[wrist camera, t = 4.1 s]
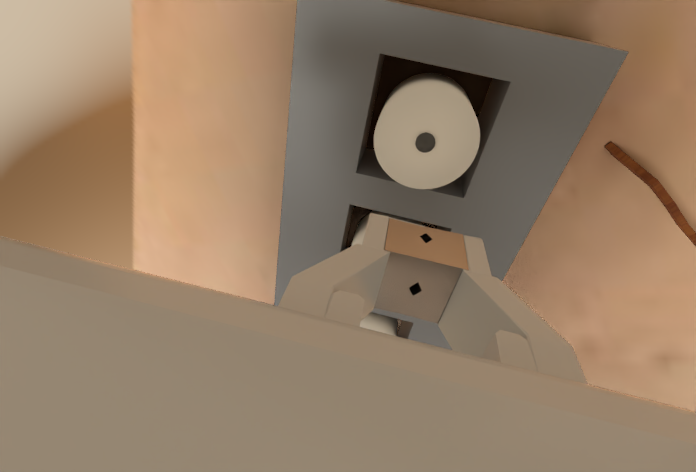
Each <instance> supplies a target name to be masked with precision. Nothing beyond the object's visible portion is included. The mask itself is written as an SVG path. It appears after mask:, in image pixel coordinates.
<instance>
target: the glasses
mask: <svg viewBox="0 0 696 472" xmlns="http://www.w3.org/2000/svg"><path fill="white" fill-rule="evenodd" d="M605 148H606V149H607V150H608V151H609V152H610V153H611V155H613V156H614V157H615V158H616V159H617V160H618V161H620V162H621V163H622V164H623V165H624V166H626V167H627V168H628V169H629V170H630V171H632V172H633V173H634V174H635V175H636V176H638V177H639V178H640V179H641V180H642V181H644V182H645V183H646V184H647V185H648V186H649V187H650V188H651V189H652V190H653V192H654V193H655V194H656V195H657V197H658V198H659V199H660V201H661V202H662V203H663V205H664V206H665V207H666V209H667V210H668V212H669V213H670V215H671V216H672V218H673V219H674V221H675V222H676V224H677V225H678V226H679V227H680V229H681V230H682V231H683V232H684V233H685V234H686V236H687V237H688V238H689V239H690V240H691V241H692V242H693V244H694V245H695V246H696V232H695V231H694V230H693V229H692V228H691V227H690V226H689V224H688V223H687V221H686V220H685V218H684V216H683V215H682V213H681V212H680V210H679V208H678V207H677V205H676V204H675V202H674V201H673V200H672V198H671V197H670V196H669V194H668V193H667V192H666V190H665V189H664V188H663V186H662V185H661V184H660V182H659V181H658V180H657V179H656V178H654V177H653V176H652V175H651V174H650V173H648V172H647V171H646V170H645V169H644V168H642V167H641V166H640V165H639V164H637V163H636V162H635V161H634V160H633V159H631V158H630V157H629V156H628V155H627V154H625V153H624V152H623V151H622V150H620V149H619V148H618V147H617V146H616V145H614V144H613V143H612V142H610V143H609V144H608V145H606V146H605Z"/></svg>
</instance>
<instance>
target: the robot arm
mask: <svg viewBox="0 0 696 472" xmlns="http://www.w3.org/2000/svg"><path fill="white" fill-rule="evenodd" d="M374 308H377V309H381V310H386V311H390V312H395V313H399V314H404V315H408V316H411V317H415V318H419V319H422V320H426V321H429V322H433V323H437V324H438V326H439V328H440V330H441V331H442V333H443V335H444V336H445V338H446V340H447V341H448V343H449V345H450V346H451V348H452V350H449V349H445V348H441V347H437V346H434V345H430V344H426V343H422V342H418V341H414V340H410V339H406V338H402V337H398V336H394V335H390V334H386V333H382V332H378V331H374V330H370V329H366V328H362V327H360V322H361V320H362V319H364V318H365V317H366V316H367V315H368V314H369V313H370V312H371V311H372V310H373V309H374ZM0 472H696V412H695V411H691V410H687V409H683V408H679V407H675V406H671V405H667V404H663V403H659V402H655V401H651V400H647V399H643V398H640V397H636V396H632V395H628V394H624V393H620V392H616V391H612V390H608V389H604V388H600V387H596V386H592V385H588V383H587V381H586V378H585V376H584V373H583V371H582V369H581V366H580V364H579V362H578V359H577V357H576V354H575V352H574V350H573V347H572V346H571V345H570V344H569V343H568V342H567V341H566V340H565V339H563V338H562V337H561V336H560V335H559V334H558V333H557V332H556V331H555V330H554V329H553V328H552V327H550V326H549V325H548V324H547V323H546V322H545V321H544V320H543V319H542V318H541V317H540V316H539V315H537V314H536V313H535V312H534V311H533V310H532V309H531V308H530V307H529V306H528V305H527V304H526V303H524V302H523V301H522V300H521V299H520V298H519V297H518V296H517V295H516V294H515V293H514V292H513V291H511V290H510V289H509V288H508V287H507V286H506V285H505V284H504V283H503V282H502V281H501V280H500V279H498V278H497V277H493V276H492V275H491V271H490V267H489V263H488V259H487V255H486V251H485V247H484V243H483V240H482V239H481V238H477V237H472V236H467V235H463V234H458V233H453V232H449V231H444V230H439V229H434V228H430V227H425V226H422V225H418V224H414V223H410V222H407V221H403V220H399V219H395V218H391V217H388V216H384V215H379V214H374V213H370V215H369V219H368V222H367V226H366V230H365V234H364V238H363V242H362V245H360V244H355V245H353V246H351V247H349V248H347V249H345V250H343V251H341V252H339V253H338V254H336V255H334V256H332V257H330V258H328V259H326V260H324V261H322V262H320V263H318V264H316V265H314V266H312V267H310V268H308V269H306V270H304V271H302V272H300V273H298V274H296V275H294V276H292V278H291V280H290V282H289V284H288V286H287V288H286V290H285V292H284V294H283V296H282V299H281V301H280V303H279V305H278V306H275V305H271V304H267V303H263V302H259V301H255V300H251V299H248V298H244V297H240V296H236V295H232V294H228V293H224V292H220V291H216V290H212V289H208V288H204V287H200V286H196V285H192V284H188V283H184V282H180V281H176V280H172V279H168V278H164V277H160V276H157V275H153V274H149V273H145V272H141V271H137V270H133V269H129V268H125V267H121V266H116V265H113V264H109V263H105V262H101V261H97V260H93V259H89V258H85V257H81V256H77V255H73V254H69V253H65V252H61V251H57V250H53V249H50V248H45V247H42V246H38V245H34V244H30V243H26V242H22V241H18V240H13V239H10V238H6V237H2V236H0Z"/></svg>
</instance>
